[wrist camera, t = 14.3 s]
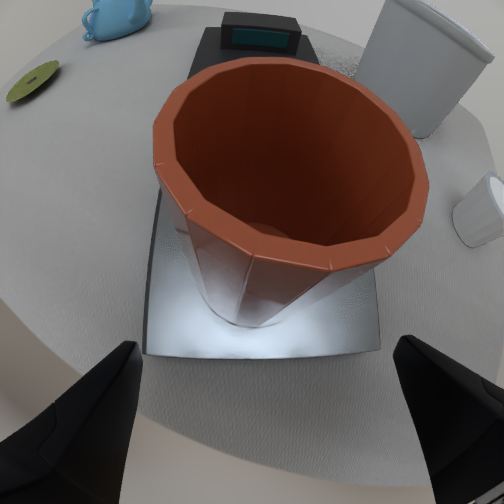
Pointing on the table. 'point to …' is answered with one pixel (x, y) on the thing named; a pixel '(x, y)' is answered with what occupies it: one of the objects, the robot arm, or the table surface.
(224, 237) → the cup
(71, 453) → the robot arm
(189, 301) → the scale
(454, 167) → the table surface
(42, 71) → the mat
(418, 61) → the utensil holder
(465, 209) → the shot glass
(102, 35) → the teapot
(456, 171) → the table surface
